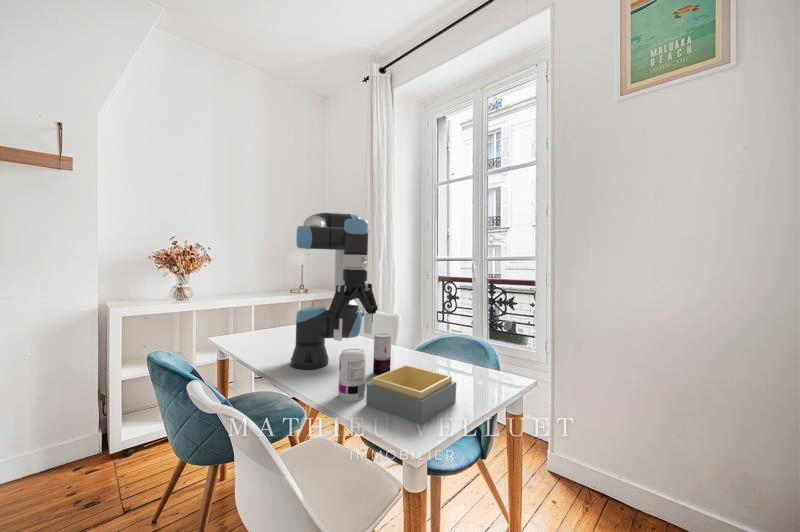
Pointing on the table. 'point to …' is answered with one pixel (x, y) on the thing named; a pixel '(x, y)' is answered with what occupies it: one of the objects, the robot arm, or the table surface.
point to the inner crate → (412, 381)
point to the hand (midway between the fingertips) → (353, 336)
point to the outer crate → (411, 402)
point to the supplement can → (352, 375)
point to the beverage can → (382, 353)
